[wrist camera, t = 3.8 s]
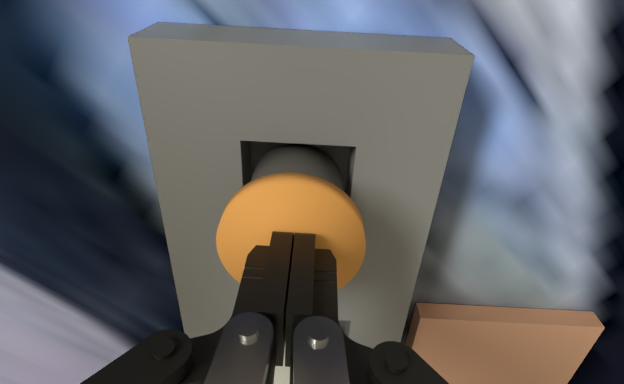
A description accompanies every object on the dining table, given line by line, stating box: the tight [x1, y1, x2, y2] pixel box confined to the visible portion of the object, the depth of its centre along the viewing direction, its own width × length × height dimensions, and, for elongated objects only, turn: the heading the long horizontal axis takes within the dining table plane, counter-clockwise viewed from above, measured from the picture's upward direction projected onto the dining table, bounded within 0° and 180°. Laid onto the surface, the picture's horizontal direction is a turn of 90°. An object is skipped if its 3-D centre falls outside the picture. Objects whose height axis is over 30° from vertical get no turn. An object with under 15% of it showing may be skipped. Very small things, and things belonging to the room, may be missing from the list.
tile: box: [405, 303, 605, 384], centre depth 27 cm, size 11×11×1 cm
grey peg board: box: [128, 22, 475, 349], centre depth 21 cm, size 12×22×3 cm, turn 177°
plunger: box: [216, 144, 366, 290], centre depth 16 cm, size 5×5×4 cm
